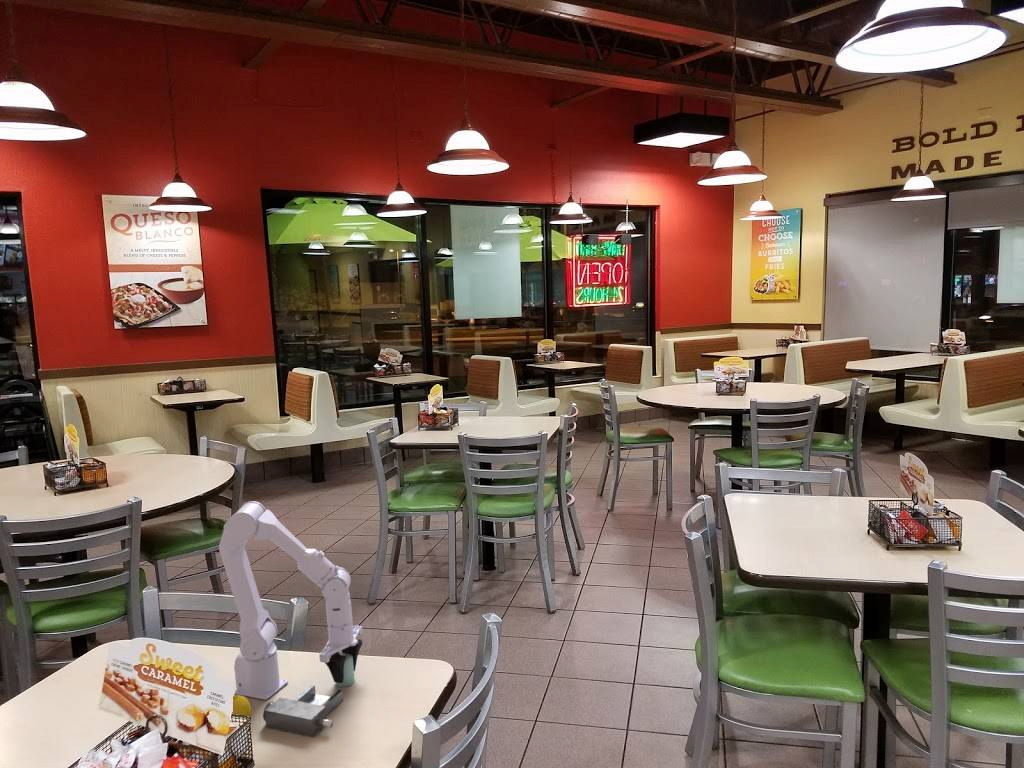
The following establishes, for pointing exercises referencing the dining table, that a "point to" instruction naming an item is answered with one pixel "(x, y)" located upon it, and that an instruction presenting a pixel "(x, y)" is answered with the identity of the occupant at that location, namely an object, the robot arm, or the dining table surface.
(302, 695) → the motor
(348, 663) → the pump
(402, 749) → the dining table surface
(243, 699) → the lemon
